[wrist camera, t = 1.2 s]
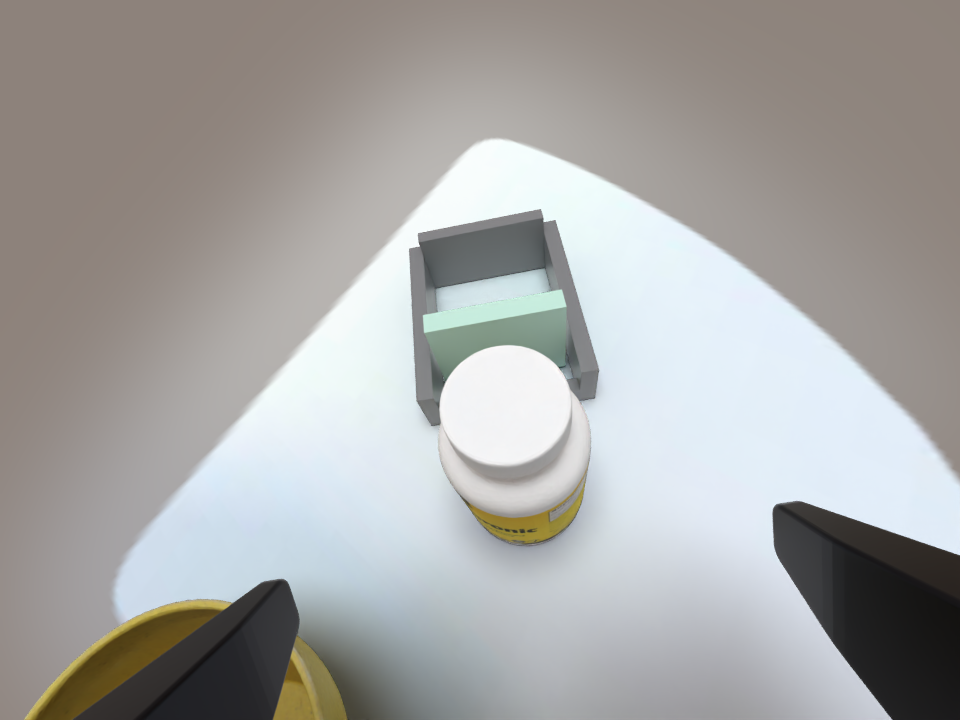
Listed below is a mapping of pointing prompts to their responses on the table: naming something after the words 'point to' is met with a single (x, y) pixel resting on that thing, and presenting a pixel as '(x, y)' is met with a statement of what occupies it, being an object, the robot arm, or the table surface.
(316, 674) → the flower pot
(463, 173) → the table surface
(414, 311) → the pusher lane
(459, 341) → the plate
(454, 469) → the supplement bottle
